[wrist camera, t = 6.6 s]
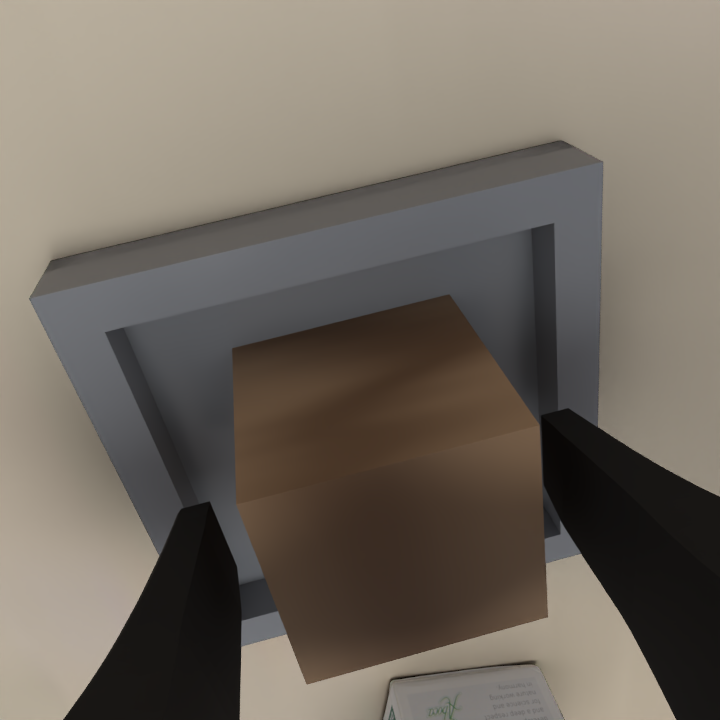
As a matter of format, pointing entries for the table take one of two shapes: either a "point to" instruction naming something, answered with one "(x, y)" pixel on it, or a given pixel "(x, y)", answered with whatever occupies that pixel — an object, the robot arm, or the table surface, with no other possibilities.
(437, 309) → the walnut cube
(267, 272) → the grey dish
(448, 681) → the syrup box
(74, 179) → the table surface
